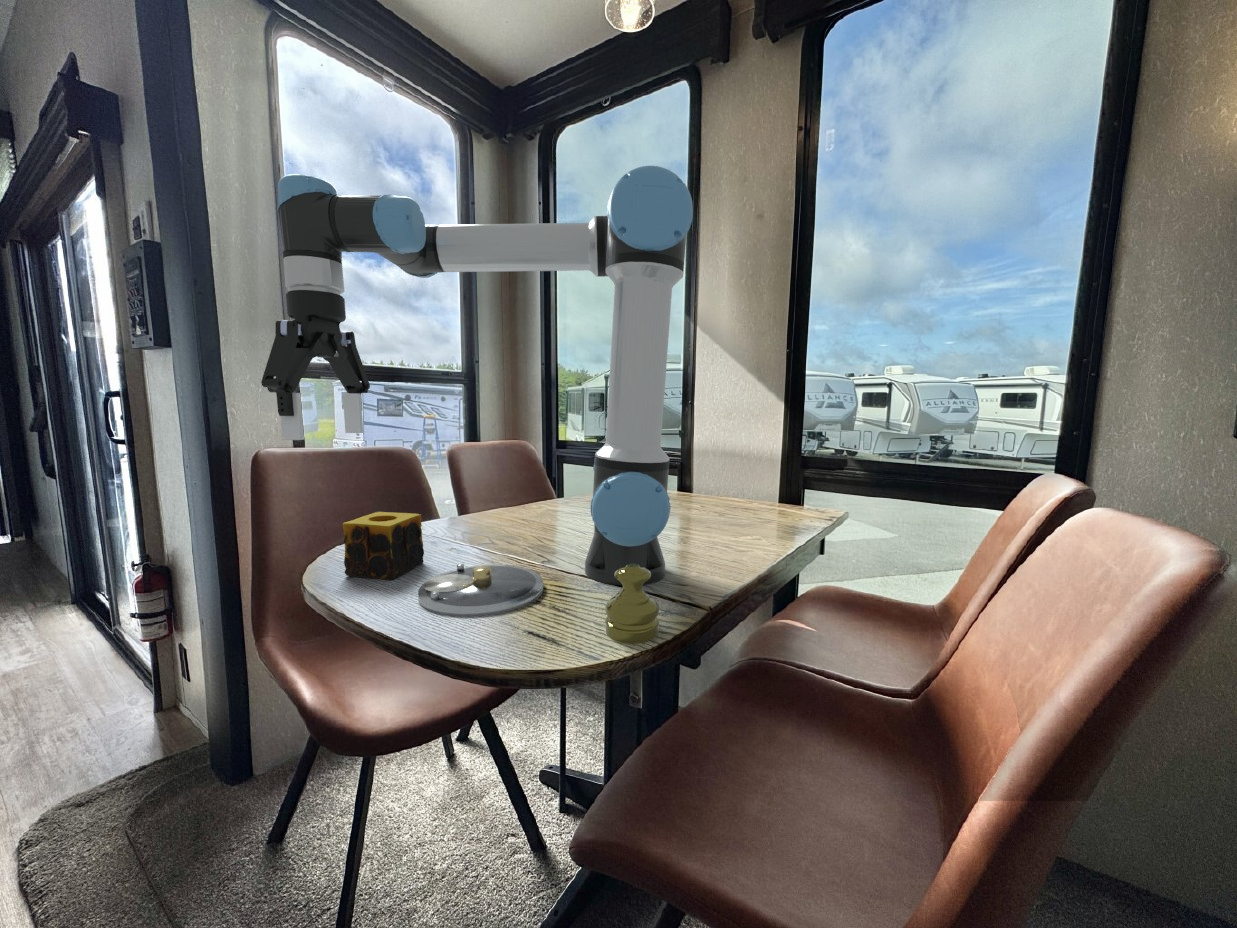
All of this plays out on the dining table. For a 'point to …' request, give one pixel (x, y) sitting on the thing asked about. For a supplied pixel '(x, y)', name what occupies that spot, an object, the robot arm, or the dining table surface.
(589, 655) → the dining table surface
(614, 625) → the gold pawn
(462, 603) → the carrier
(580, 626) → the dining table surface
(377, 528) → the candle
